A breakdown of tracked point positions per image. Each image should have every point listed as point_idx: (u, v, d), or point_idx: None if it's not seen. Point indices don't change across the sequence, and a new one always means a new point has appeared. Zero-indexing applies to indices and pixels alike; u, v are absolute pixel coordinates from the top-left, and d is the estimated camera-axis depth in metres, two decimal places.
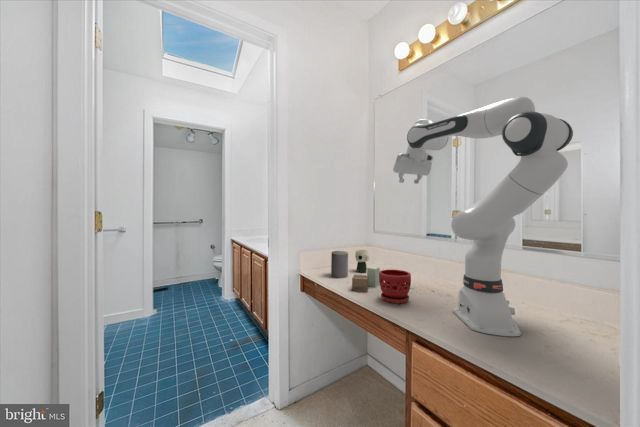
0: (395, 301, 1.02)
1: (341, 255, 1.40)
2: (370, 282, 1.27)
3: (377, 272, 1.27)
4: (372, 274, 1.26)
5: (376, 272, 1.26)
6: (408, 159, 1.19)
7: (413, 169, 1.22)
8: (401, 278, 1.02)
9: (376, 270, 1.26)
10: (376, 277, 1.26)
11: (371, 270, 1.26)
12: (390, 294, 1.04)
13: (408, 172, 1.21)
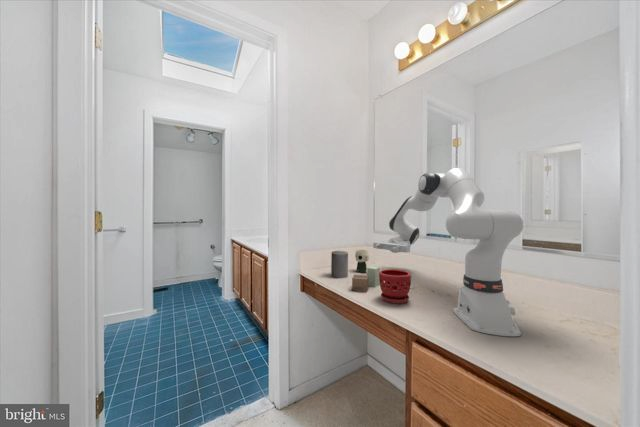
0: (395, 301, 1.02)
1: (341, 255, 1.40)
2: (370, 282, 1.27)
3: (377, 272, 1.27)
4: (372, 274, 1.26)
5: (376, 272, 1.26)
6: None
7: (389, 243, 1.43)
8: (401, 278, 1.02)
9: (376, 270, 1.26)
10: (376, 277, 1.26)
11: (371, 270, 1.26)
12: (390, 294, 1.04)
13: (383, 243, 1.43)
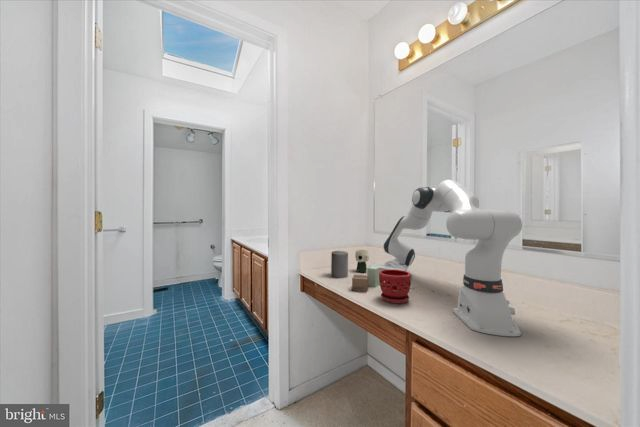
0: (395, 301, 1.02)
1: (341, 255, 1.40)
2: (370, 282, 1.27)
3: (377, 272, 1.27)
4: (372, 274, 1.26)
5: (376, 272, 1.26)
6: None
7: (385, 267, 1.39)
8: (401, 278, 1.02)
9: (376, 270, 1.26)
10: (376, 277, 1.26)
11: (371, 270, 1.26)
12: (390, 294, 1.04)
13: (379, 266, 1.40)
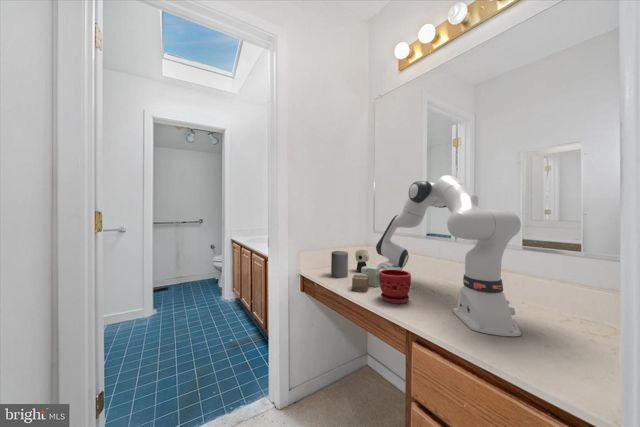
0: (395, 301, 1.02)
1: (341, 255, 1.40)
2: (370, 282, 1.27)
3: (377, 272, 1.27)
4: (372, 274, 1.26)
5: (376, 272, 1.26)
6: None
7: None
8: (401, 278, 1.02)
9: (376, 270, 1.26)
10: (376, 277, 1.26)
11: (371, 270, 1.26)
12: (390, 294, 1.04)
13: None
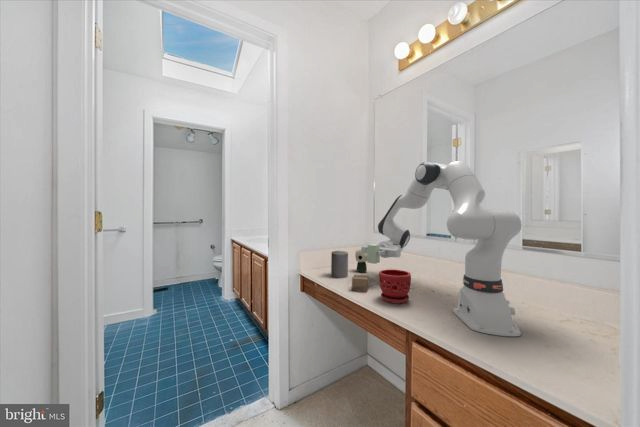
0: (395, 301, 1.02)
1: (341, 255, 1.40)
2: (370, 259, 1.26)
3: (377, 249, 1.26)
4: (372, 251, 1.26)
5: (377, 249, 1.26)
6: None
7: None
8: (401, 278, 1.02)
9: (376, 247, 1.25)
10: (376, 254, 1.26)
11: (371, 247, 1.26)
12: (390, 294, 1.04)
13: None
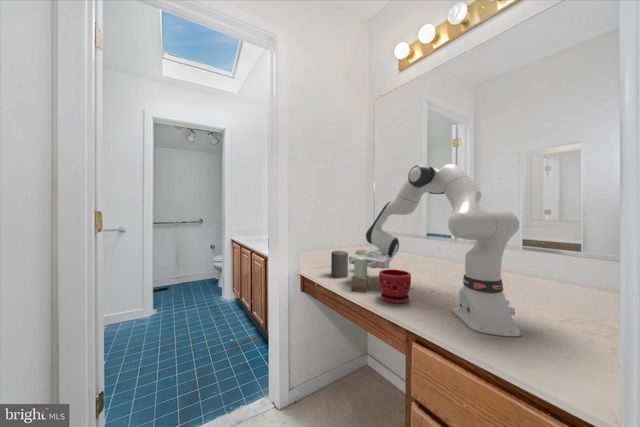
0: (395, 301, 1.02)
1: (341, 255, 1.40)
2: (357, 273, 1.20)
3: (364, 263, 1.20)
4: (359, 265, 1.20)
5: (364, 263, 1.20)
6: (363, 255, 1.33)
7: (366, 257, 1.27)
8: (401, 278, 1.02)
9: (363, 261, 1.20)
10: (363, 268, 1.20)
11: (358, 261, 1.20)
12: (390, 294, 1.04)
13: None
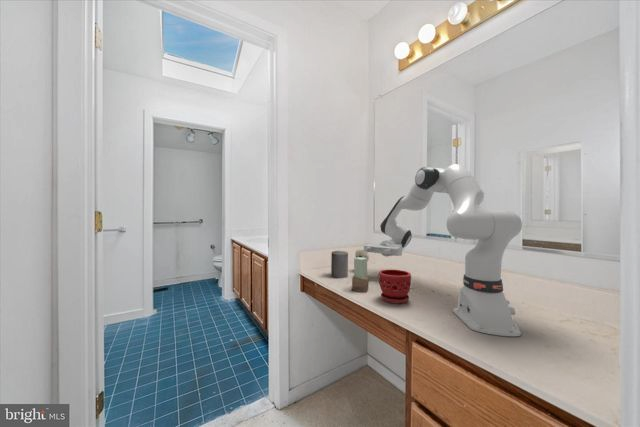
0: (395, 301, 1.02)
1: (341, 255, 1.40)
2: (357, 273, 1.20)
3: (364, 263, 1.20)
4: (359, 265, 1.20)
5: (364, 263, 1.20)
6: None
7: (380, 246, 1.37)
8: (401, 278, 1.02)
9: (363, 261, 1.20)
10: (363, 268, 1.20)
11: (358, 261, 1.20)
12: (390, 294, 1.04)
13: (374, 246, 1.37)
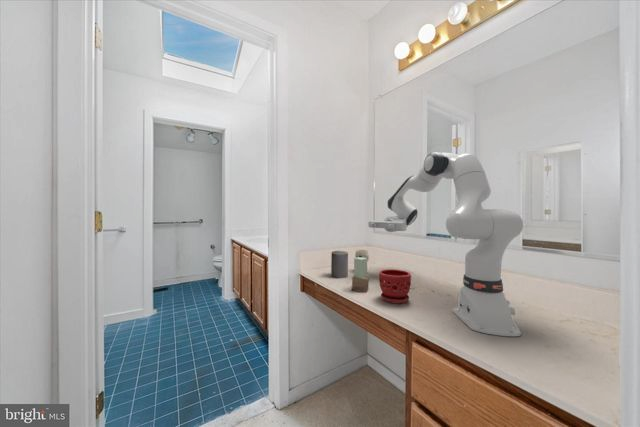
0: (395, 301, 1.02)
1: (341, 255, 1.40)
2: (357, 273, 1.20)
3: (364, 263, 1.20)
4: (359, 265, 1.20)
5: (364, 263, 1.20)
6: None
7: (384, 221, 1.38)
8: (401, 278, 1.02)
9: (363, 261, 1.20)
10: (363, 268, 1.20)
11: (358, 261, 1.20)
12: (390, 294, 1.04)
13: (379, 221, 1.39)
